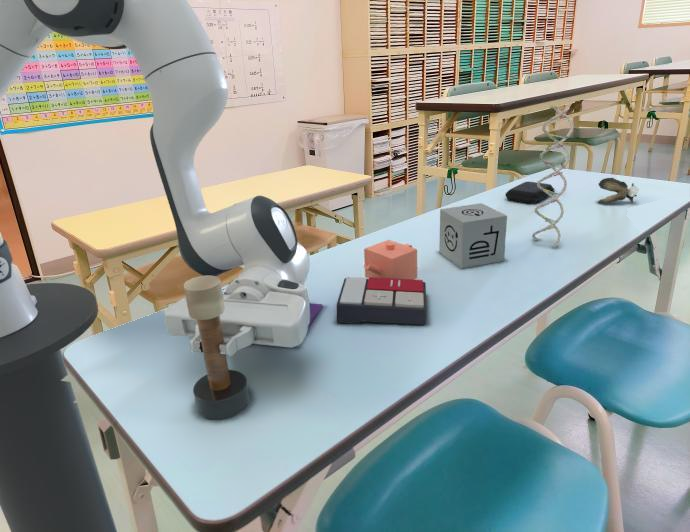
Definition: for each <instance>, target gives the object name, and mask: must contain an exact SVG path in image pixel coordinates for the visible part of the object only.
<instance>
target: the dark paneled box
mask: <svg viewBox="0 0 690 532" xmlns="http://www.w3.org/2000/svg"><path fill="white" fill-rule="evenodd" d="M426 286H427V283H426V282H425V281H424V280H423V279H413V280H412V279H393V278H374V277H370V278H367V277H355V276H354V277H353V276H347V277H345V278H344V279H343V282H342V285H341V289H340V292H339V296H338V299H337V302H336V323H339V324H353V325H359V324H362V323H364V322H370V323H371V322H372V323H386V324H404V325H419V326H425V325H426V323H427V322H426V321H427V309H428V308H427V290H426V289H427V288H426Z"/></svg>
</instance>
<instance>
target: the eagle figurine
mask: <svg viewBox="0 0 690 532" xmlns="http://www.w3.org/2000/svg"><path fill="white" fill-rule="evenodd" d="M597 184H598V187H599V188H600V189H602V190H605V191H608V192H614V193H615V194H611V195H607V196H606V197H605V198H602V199H599V200H598V201H597V203H598V204H601V205H608V204H612V203H615V202H619V201H624V200H626V198H627V199H628V200H629V201H630V203H632V204H633V203H634V197H638V195H637V193H638V192H639V190H640V189H639V188H638V186H636V185H635V184H634V182H632V183H631V187H628V184H627V183H626V182H625V181H622V180H619V179H616V178H614V177H605V178H602V179H600V180H599V182H598V183H597Z"/></svg>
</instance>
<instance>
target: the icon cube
mask: <svg viewBox="0 0 690 532" xmlns="http://www.w3.org/2000/svg"><path fill="white" fill-rule="evenodd" d="M507 224H508V215H506V214H504V213H502V212H501V211H499V210H496V209H495V208H492V207H490V206H489V205H486V204H484V203H482V202H480V203H472V204H468V205H467V204H466V205H459V206H452V207H446V208H440V209H439V243H438V246H439V251H438V253H440V254H441V255H442V256H444V257H445V258H446V259H448V260H449V261H451V262H452V263H453V264H454V265H456V266H457V267H459V268H460V269H461V270H462V269H467V268H472V267H478V266H483V265H484V266H485V265H488V264H495V263H500V262H504V261H505V252H506V251H505V250H506V237H507Z"/></svg>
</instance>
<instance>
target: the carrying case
mask: <svg viewBox="0 0 690 532" xmlns="http://www.w3.org/2000/svg"><path fill="white" fill-rule="evenodd" d="M537 183H538V182H537V181H524V182H522V183H519V184H518V185H515V186H514V187H512V188H510V189H509V190H507V192H505V194H504V195H505V198H506V199H507V200H509V201H513V202H520V203H527V204H535V203H537V202H539V201H541V200H542V199H544V198H546V197H547V196H549V195H548V194H547V193H545V192H544V191H542V190H541V189H540V188H538V186H537ZM540 186H541V187H543V188H544V189H546V190H549V191H550V192H549V193H551V191H552V192H555V193H556V189H555V188H554V187H553V185H552V184H550V183H545V182H540ZM551 194H552V195H555V194H554V193H551Z"/></svg>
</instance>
